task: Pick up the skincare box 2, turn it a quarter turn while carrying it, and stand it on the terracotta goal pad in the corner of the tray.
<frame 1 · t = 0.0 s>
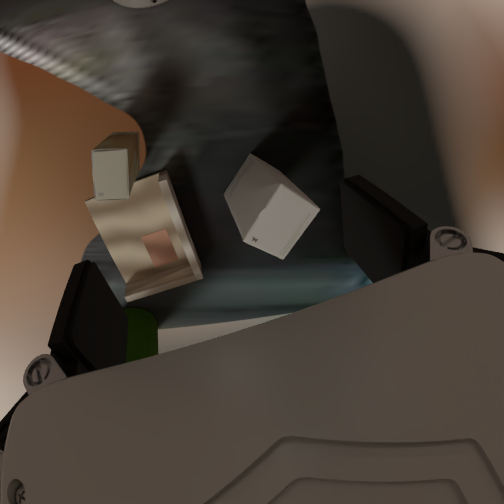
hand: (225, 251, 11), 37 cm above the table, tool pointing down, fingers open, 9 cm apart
skincare box: (251, 180, 49), on the table
skincare box 2: (125, 150, 42), on the table
tray: (144, 233, 49), on the table
wine bottle: (135, 322, 59), on the table
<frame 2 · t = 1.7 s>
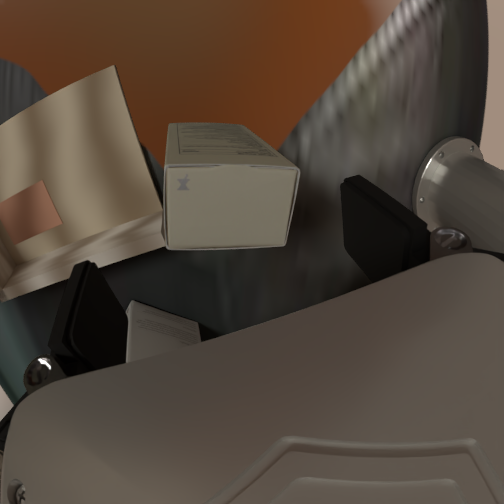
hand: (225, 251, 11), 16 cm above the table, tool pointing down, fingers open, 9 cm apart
skincare box: (157, 326, 33), on the table
skincare box 2: (207, 147, 24), on the table
tray: (49, 183, 22), on the table
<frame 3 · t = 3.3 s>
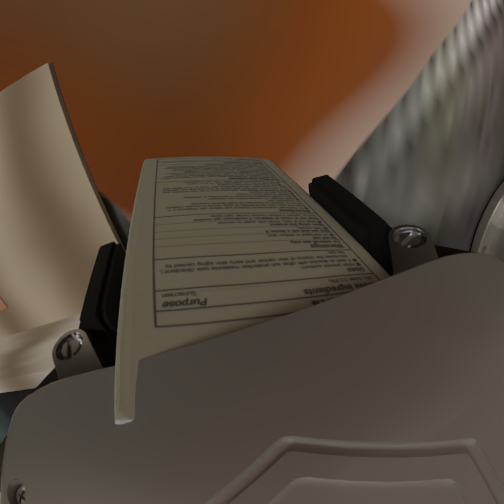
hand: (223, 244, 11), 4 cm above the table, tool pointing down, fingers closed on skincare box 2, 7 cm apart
skincare box 2: (209, 196, 15), on the table, touching gripper
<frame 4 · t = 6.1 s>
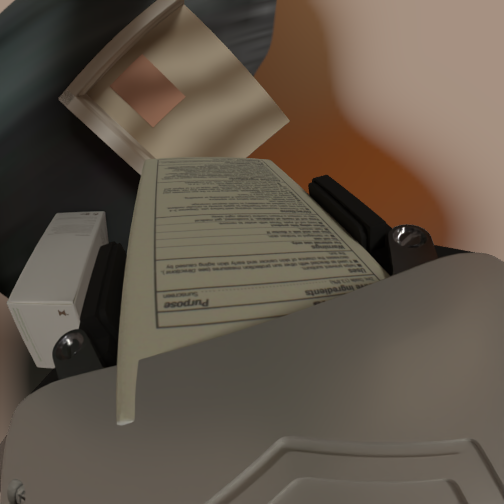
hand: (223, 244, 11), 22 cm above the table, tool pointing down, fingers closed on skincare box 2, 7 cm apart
skincare box: (86, 241, 33), on the table
skincare box 2: (209, 197, 15), point 18 cm above the table, touching gripper
tray: (181, 101, 28), on the table
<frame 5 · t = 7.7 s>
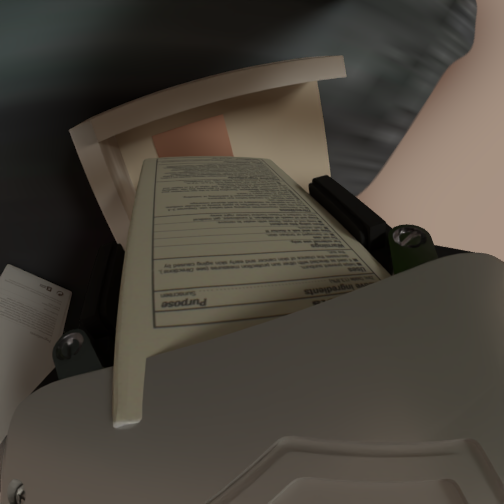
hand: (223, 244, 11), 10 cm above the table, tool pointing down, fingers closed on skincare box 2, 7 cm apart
skincare box: (35, 309, 22), on the table
skincare box 2: (209, 196, 15), point 5 cm above the table, touching gripper
tray: (234, 206, 21), on the table
when the fingers open (6 cm above the table, at t = 8.9 s): skincare box 2 drops 1 cm, resting on tray.
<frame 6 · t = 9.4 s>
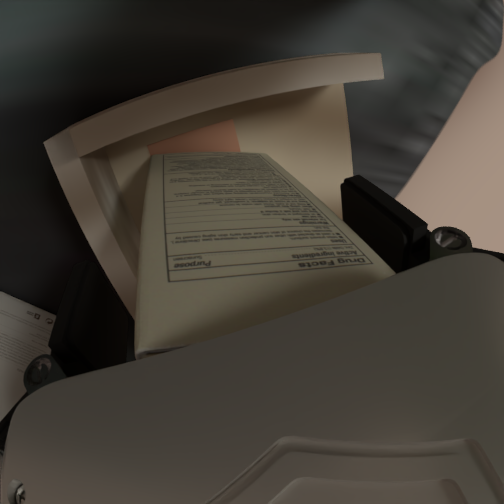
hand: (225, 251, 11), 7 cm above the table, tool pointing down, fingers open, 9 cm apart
skincare box: (25, 334, 19), on the table
skincare box 2: (211, 188, 16), resting on tray
tray: (245, 226, 19), on the table
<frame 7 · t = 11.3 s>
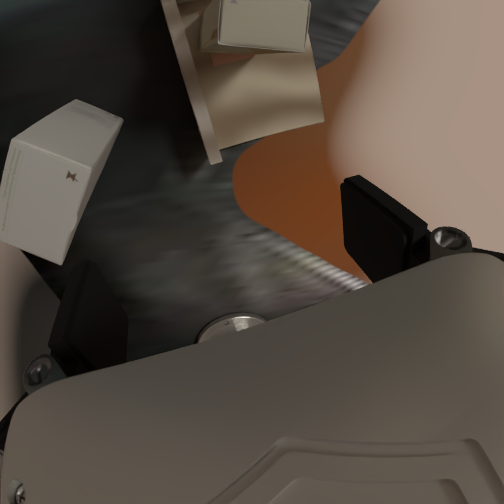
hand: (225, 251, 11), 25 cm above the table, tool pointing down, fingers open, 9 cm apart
skincare box: (87, 142, 29), on the table
skincare box 2: (230, 34, 26), resting on tray
tray: (248, 58, 28), on the table
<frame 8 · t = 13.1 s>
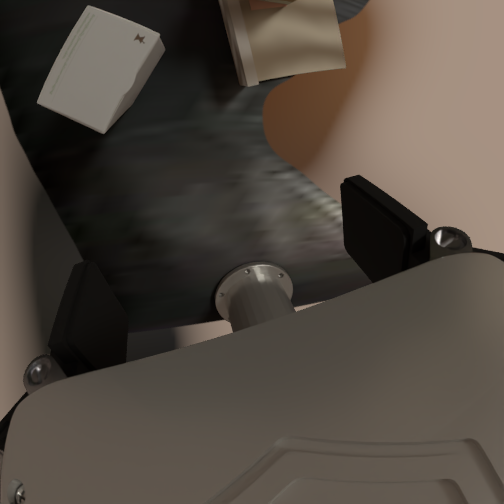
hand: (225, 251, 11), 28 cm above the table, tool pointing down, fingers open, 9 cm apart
skincare box: (126, 68, 29), on the table
tray: (280, 8, 28), on the table
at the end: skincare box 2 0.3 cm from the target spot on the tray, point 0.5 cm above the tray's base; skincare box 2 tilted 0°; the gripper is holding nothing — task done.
